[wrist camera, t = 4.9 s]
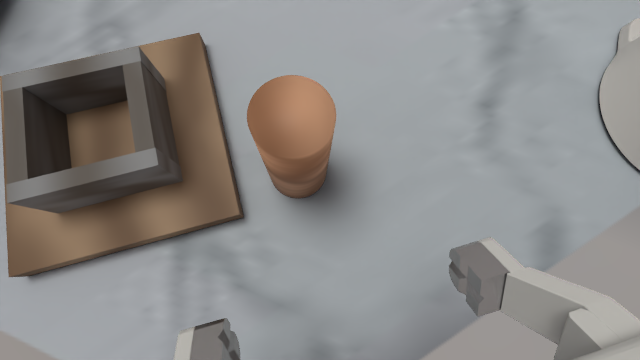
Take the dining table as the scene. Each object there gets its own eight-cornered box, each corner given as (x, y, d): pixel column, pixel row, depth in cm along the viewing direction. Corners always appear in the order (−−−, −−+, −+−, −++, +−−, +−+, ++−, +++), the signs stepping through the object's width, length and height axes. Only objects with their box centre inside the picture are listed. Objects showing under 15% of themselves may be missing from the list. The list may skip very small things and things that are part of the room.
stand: (204, 44, 29) (180, -6, 24) (243, 217, 25) (225, 204, 20) (16, 86, 28) (-55, 43, 22) (27, 276, 24) (-56, 279, 18)
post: (317, 138, 27) (321, 66, 17) (333, 189, 26) (347, 143, 16) (264, 152, 26) (238, 86, 17) (277, 204, 25) (258, 166, 16)
